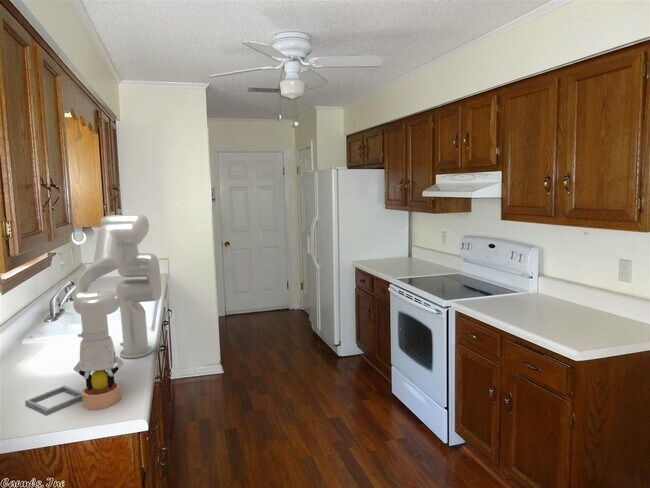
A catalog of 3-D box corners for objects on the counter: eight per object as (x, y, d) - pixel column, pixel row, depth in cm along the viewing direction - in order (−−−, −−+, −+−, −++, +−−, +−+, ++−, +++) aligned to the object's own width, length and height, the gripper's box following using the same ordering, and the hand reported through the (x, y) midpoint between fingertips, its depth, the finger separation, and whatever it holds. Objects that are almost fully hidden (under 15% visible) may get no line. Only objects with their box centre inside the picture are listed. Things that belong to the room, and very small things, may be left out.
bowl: (76, 404, 155) (74, 391, 154) (107, 390, 164) (106, 378, 164) (96, 412, 149) (94, 399, 149) (127, 398, 159) (126, 385, 158)
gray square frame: (25, 405, 155) (25, 400, 155) (64, 389, 166) (64, 385, 166) (46, 415, 148) (46, 410, 148) (86, 398, 159) (86, 394, 159)
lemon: (92, 389, 158) (90, 366, 157) (110, 386, 160) (108, 364, 159) (91, 396, 153) (89, 373, 152) (110, 393, 155) (108, 370, 154)
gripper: (63, 341, 148) (69, 395, 151) (121, 336, 152) (126, 389, 155) (70, 333, 155) (76, 385, 158) (126, 328, 159) (130, 379, 162)
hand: (101, 386), depth 156 cm, fingers closed on lemon, 5 cm apart
